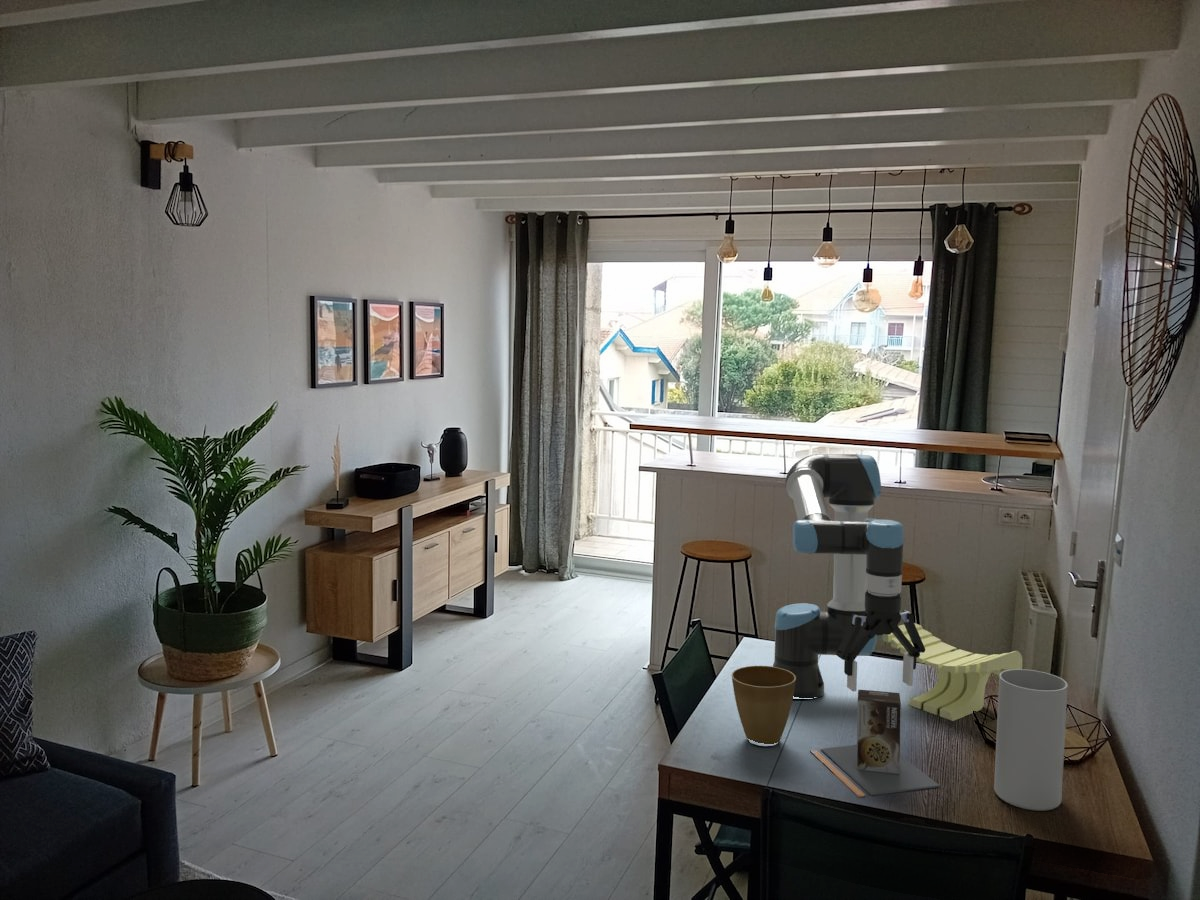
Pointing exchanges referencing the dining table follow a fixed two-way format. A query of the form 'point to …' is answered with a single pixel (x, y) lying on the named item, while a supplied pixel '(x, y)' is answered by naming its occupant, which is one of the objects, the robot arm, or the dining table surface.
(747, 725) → the plant pot
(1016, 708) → the cylinder vase
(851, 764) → the mat
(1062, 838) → the dining table surface
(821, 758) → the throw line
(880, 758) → the coffee box
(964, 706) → the slatted curved stool
